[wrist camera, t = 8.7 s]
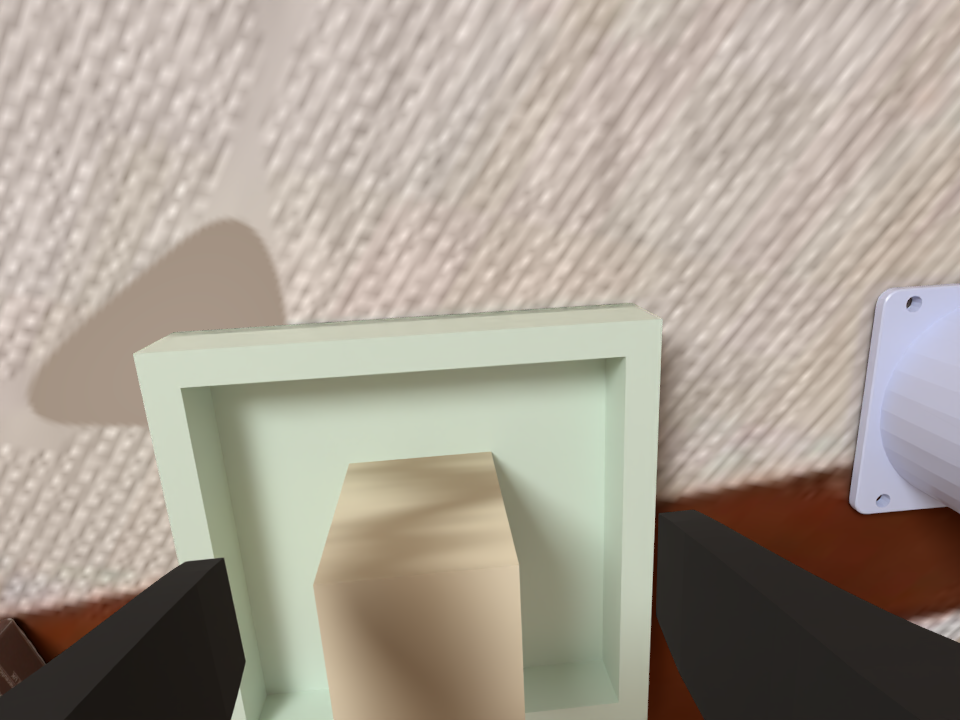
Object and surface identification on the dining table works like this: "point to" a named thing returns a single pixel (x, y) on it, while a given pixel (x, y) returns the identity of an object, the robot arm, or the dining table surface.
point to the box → (16, 656)
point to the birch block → (421, 594)
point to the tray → (413, 434)
